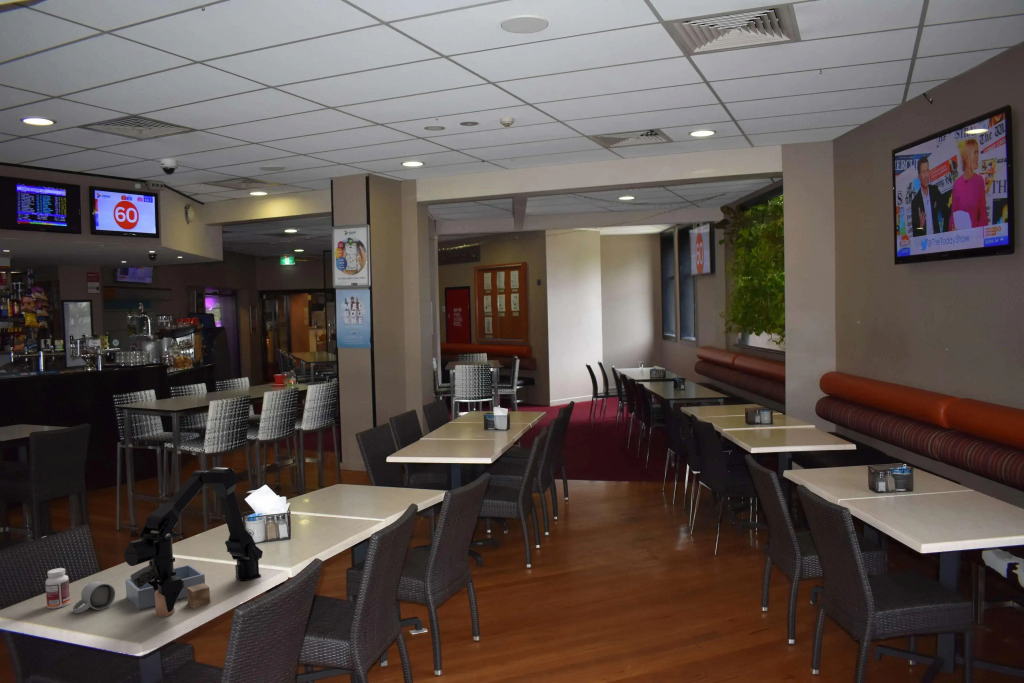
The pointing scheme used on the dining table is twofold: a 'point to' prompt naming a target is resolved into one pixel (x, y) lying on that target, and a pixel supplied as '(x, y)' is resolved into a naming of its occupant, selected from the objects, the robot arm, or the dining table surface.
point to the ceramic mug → (95, 597)
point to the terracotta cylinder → (161, 605)
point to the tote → (146, 593)
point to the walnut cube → (198, 595)
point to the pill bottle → (57, 589)
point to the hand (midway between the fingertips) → (165, 607)
